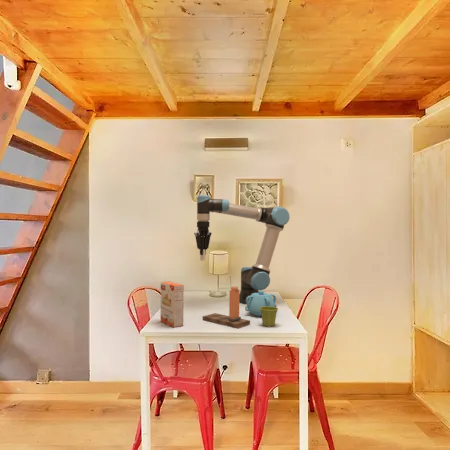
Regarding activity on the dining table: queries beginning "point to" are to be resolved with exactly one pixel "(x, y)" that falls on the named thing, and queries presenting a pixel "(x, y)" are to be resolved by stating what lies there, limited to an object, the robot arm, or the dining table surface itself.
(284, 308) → the dining table surface
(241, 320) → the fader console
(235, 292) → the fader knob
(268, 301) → the decorative pot
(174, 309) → the cracker box
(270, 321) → the plant pot
